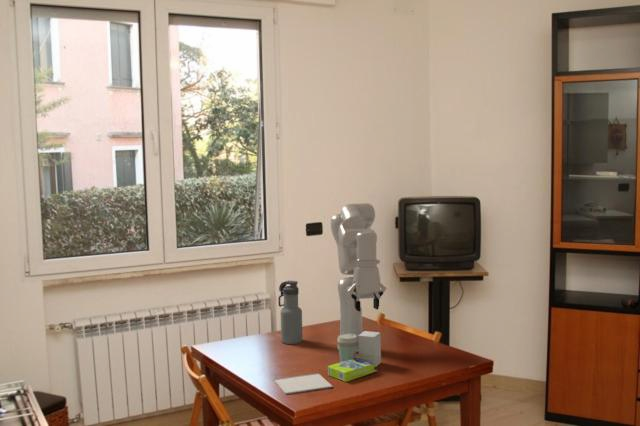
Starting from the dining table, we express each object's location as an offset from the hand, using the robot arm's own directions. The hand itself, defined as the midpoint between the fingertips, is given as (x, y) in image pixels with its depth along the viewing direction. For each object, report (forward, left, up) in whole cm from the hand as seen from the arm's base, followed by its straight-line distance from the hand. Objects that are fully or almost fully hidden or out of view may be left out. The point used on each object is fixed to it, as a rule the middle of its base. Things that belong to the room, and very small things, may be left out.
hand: (367, 309), depth 250 cm
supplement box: (-6, -12, -26) cm, 29 cm away
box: (+13, 0, -24) cm, 27 cm away
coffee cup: (+2, -14, -26) cm, 30 cm away
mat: (+26, 0, -26) cm, 37 cm away
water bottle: (+13, -55, -26) cm, 62 cm away
